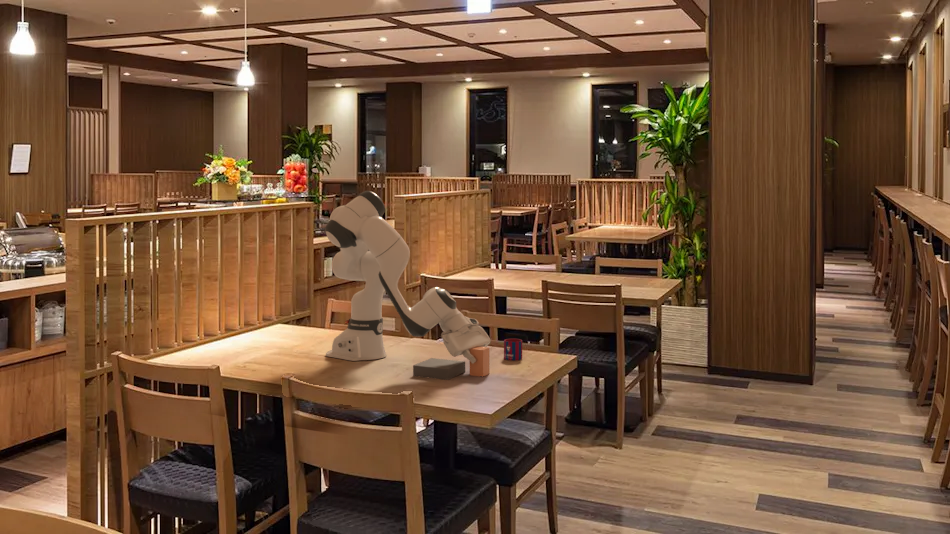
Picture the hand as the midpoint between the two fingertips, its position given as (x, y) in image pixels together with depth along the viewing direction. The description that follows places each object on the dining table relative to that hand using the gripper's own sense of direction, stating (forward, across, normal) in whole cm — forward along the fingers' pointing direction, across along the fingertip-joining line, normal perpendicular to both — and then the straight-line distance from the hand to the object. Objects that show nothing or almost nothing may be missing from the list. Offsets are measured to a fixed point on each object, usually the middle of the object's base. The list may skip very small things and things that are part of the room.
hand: (481, 360), depth 291 cm
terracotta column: (+3, 0, +4) cm, 5 cm away
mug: (0, +30, +7) cm, 31 cm away
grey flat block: (-5, -7, +12) cm, 15 cm away
